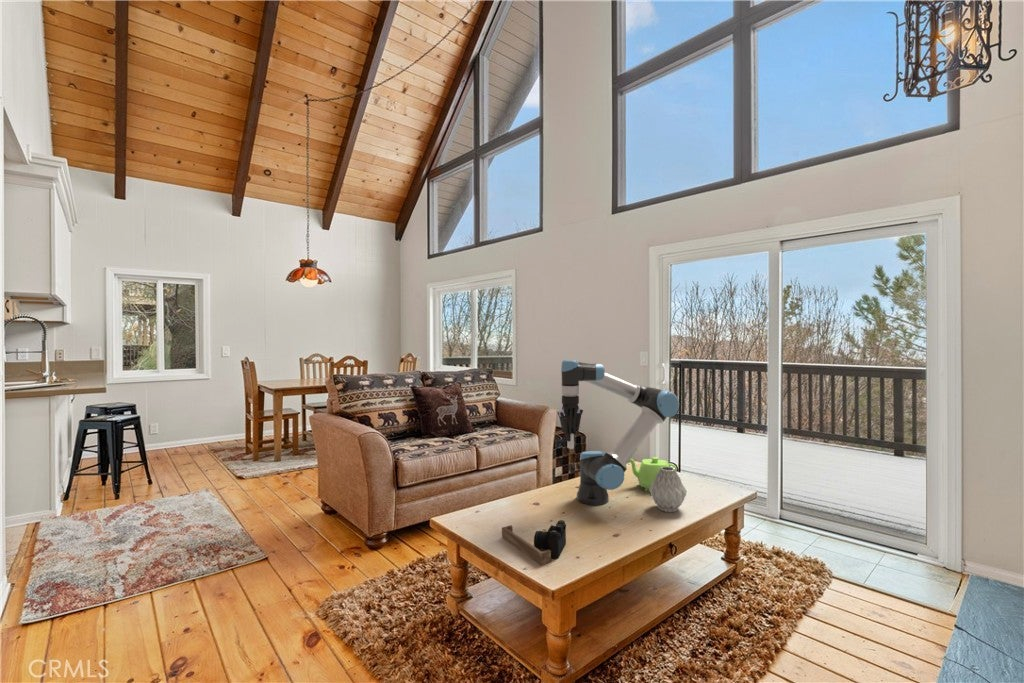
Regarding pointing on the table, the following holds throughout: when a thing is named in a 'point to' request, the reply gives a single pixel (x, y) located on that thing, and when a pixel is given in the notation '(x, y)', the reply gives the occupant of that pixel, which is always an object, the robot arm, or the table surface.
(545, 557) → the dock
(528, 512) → the table surface
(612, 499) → the table surface
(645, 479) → the teapot
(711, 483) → the table surface
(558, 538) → the camera
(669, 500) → the vase
